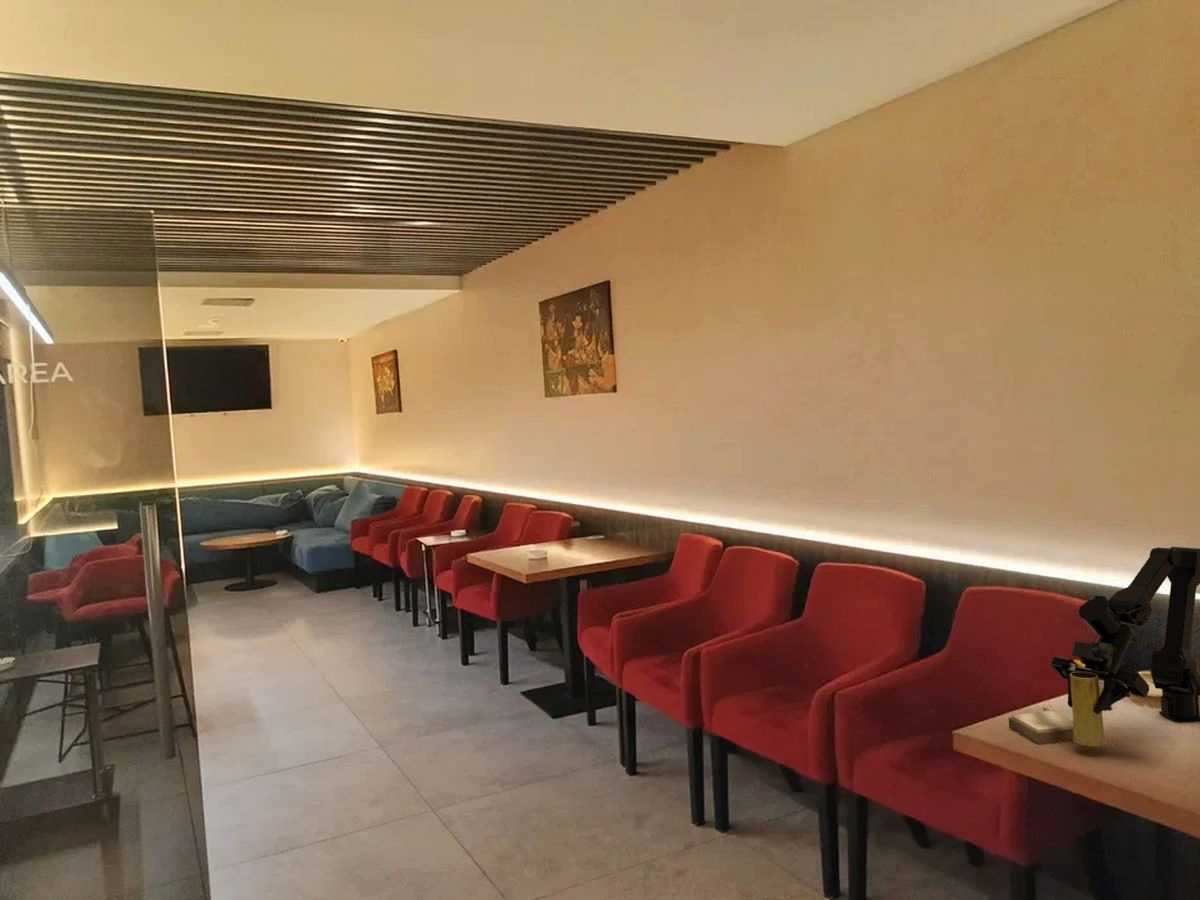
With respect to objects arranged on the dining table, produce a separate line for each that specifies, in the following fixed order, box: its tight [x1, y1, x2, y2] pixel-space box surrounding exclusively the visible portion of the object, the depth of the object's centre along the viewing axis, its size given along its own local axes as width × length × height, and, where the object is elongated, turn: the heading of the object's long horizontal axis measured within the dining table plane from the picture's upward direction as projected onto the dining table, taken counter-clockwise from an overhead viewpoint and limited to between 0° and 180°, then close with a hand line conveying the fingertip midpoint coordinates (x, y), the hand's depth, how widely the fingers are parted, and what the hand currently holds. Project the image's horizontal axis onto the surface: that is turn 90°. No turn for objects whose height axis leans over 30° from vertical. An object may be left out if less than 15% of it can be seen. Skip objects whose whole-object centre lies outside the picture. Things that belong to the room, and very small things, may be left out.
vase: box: [1070, 671, 1107, 747], centre depth 180 cm, size 6×6×14 cm
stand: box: [1008, 710, 1074, 745], centre depth 192 cm, size 11×11×3 cm
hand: (1082, 709), depth 179 cm, fingers closed on vase, 5 cm apart
